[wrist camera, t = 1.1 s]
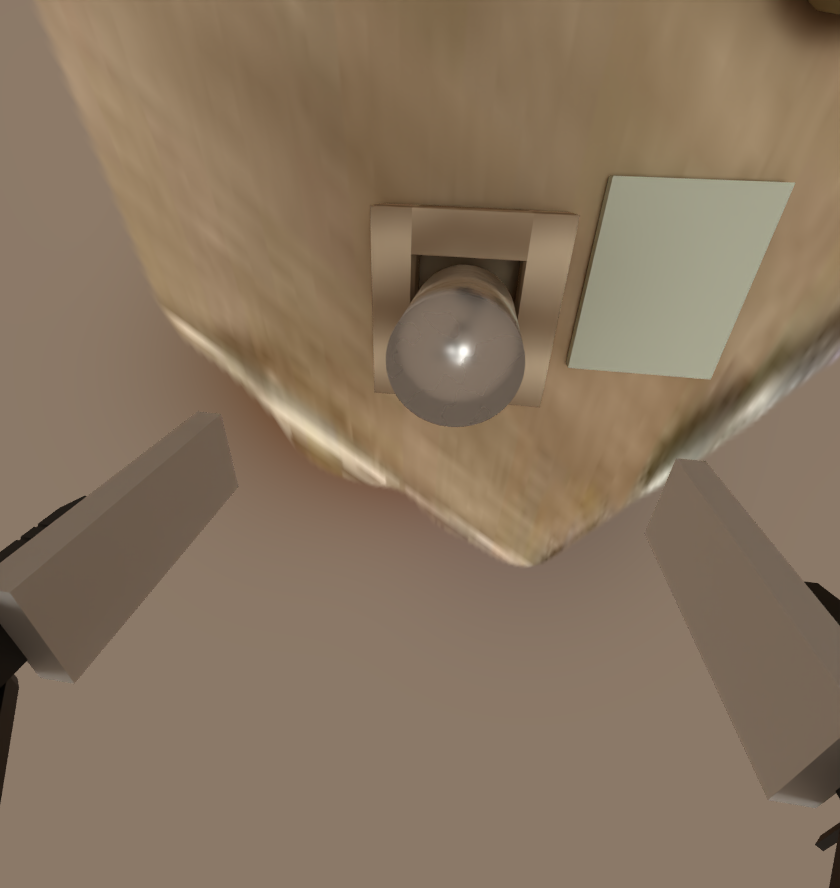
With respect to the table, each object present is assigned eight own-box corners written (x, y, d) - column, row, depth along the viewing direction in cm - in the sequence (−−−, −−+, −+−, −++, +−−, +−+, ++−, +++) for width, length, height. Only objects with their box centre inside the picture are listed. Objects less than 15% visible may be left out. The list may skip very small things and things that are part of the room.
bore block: (384, 203, 28) (369, 205, 25) (568, 211, 27) (579, 215, 23) (385, 372, 34) (374, 392, 31) (534, 384, 33) (539, 407, 30)
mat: (609, 176, 26) (613, 175, 25) (785, 182, 25) (795, 182, 24) (565, 362, 32) (567, 367, 31) (704, 374, 31) (710, 379, 30)
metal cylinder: (423, 250, 29) (384, 288, 18) (517, 256, 29) (537, 299, 18) (420, 341, 33) (386, 420, 22) (504, 348, 32) (513, 433, 21)
